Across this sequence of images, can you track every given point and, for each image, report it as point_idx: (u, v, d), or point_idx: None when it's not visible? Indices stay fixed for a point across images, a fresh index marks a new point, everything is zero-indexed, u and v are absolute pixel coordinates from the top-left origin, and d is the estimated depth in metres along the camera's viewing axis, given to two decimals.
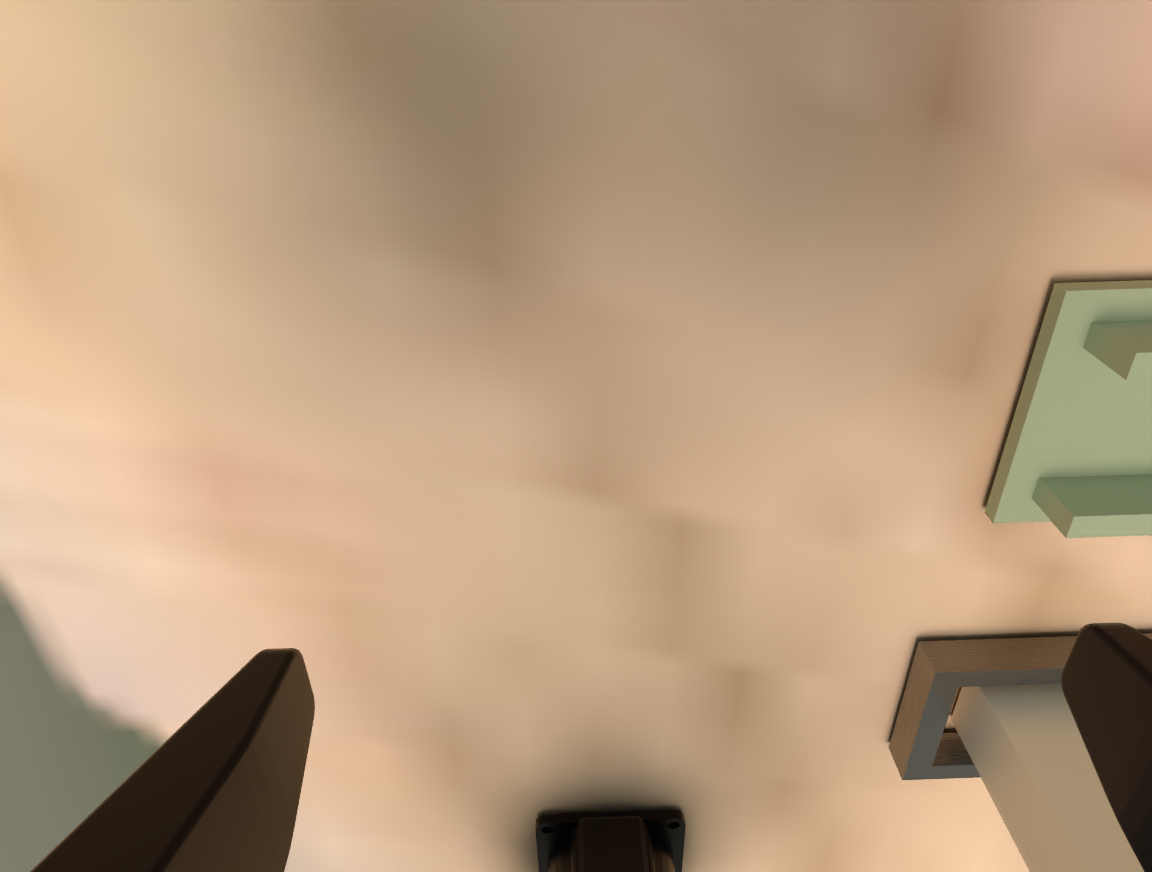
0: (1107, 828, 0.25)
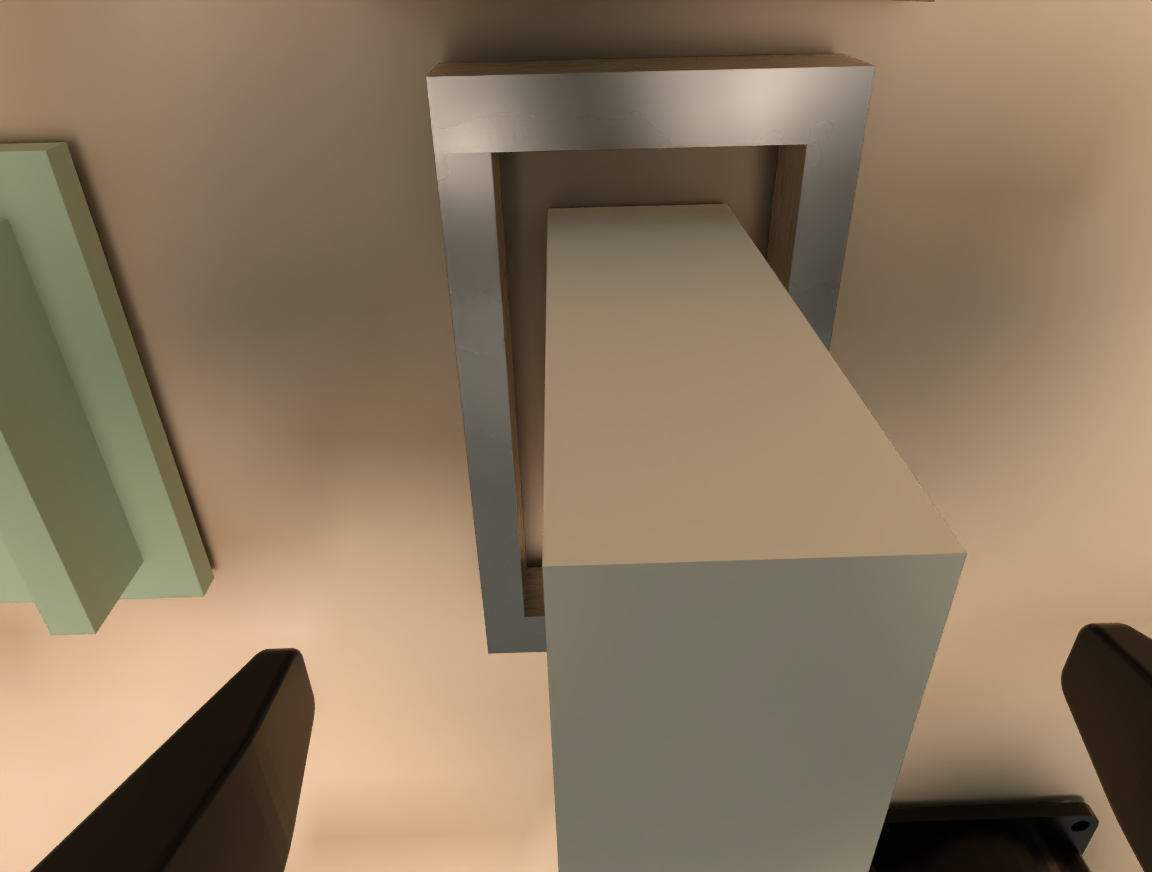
0: None
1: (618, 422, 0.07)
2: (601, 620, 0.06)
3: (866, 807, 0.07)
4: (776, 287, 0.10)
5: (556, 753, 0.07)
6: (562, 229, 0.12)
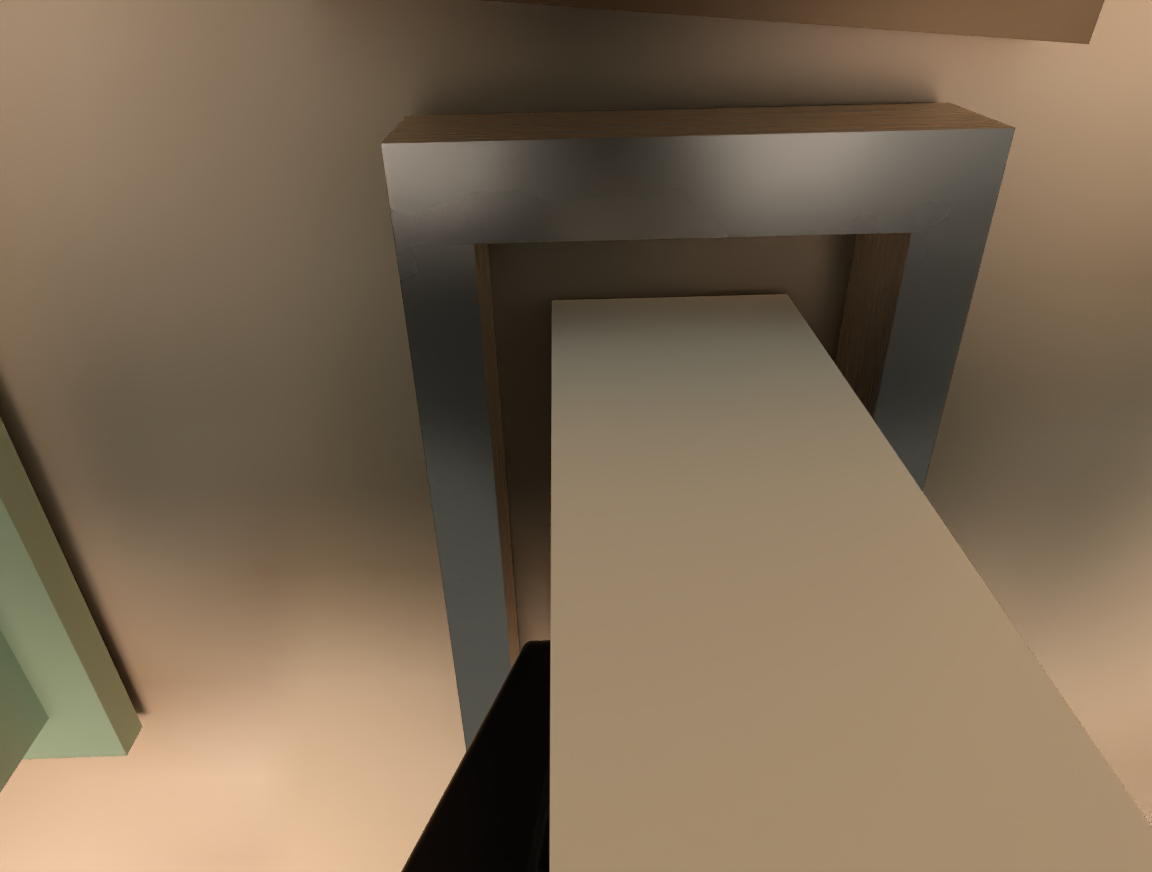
0: None
1: (681, 813, 0.04)
2: None
3: None
4: (887, 458, 0.07)
5: None
6: (572, 336, 0.09)
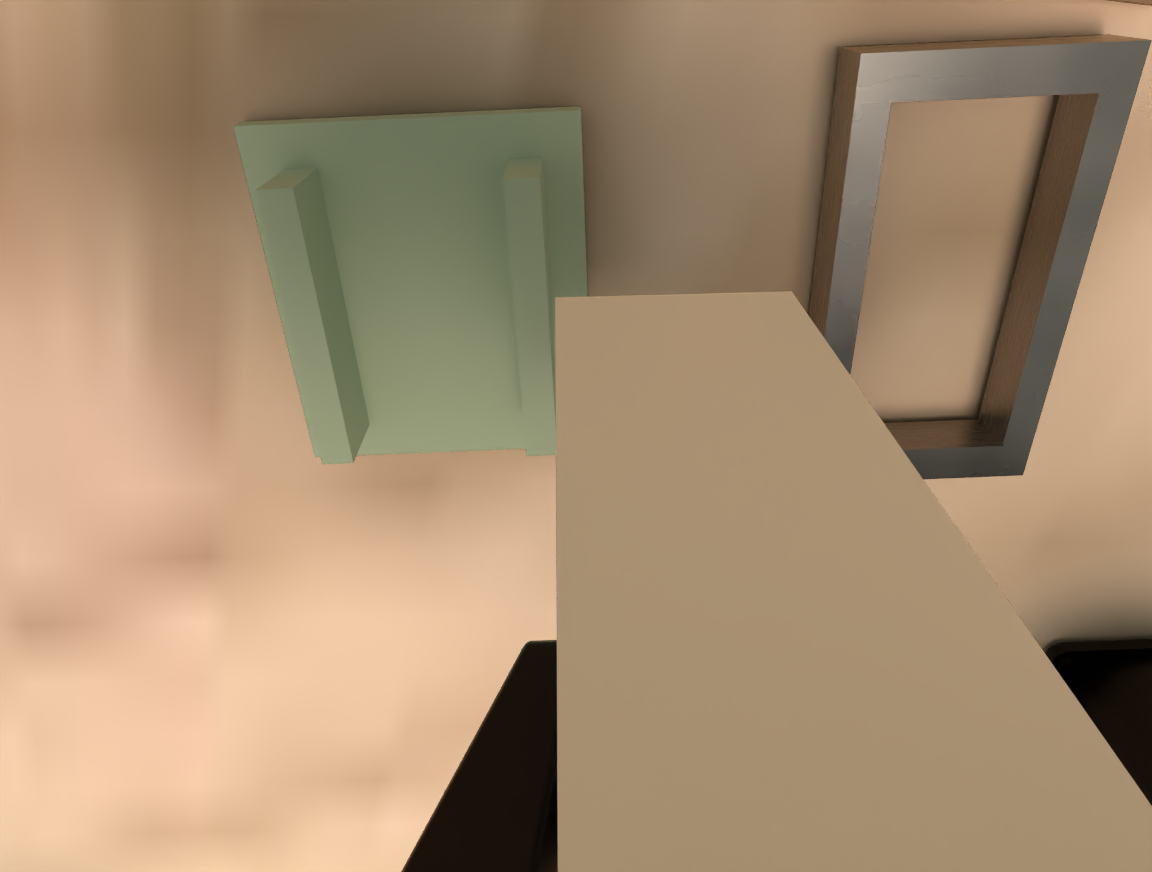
0: None
1: (689, 809, 0.04)
2: None
3: None
4: (894, 455, 0.07)
5: None
6: (576, 333, 0.09)
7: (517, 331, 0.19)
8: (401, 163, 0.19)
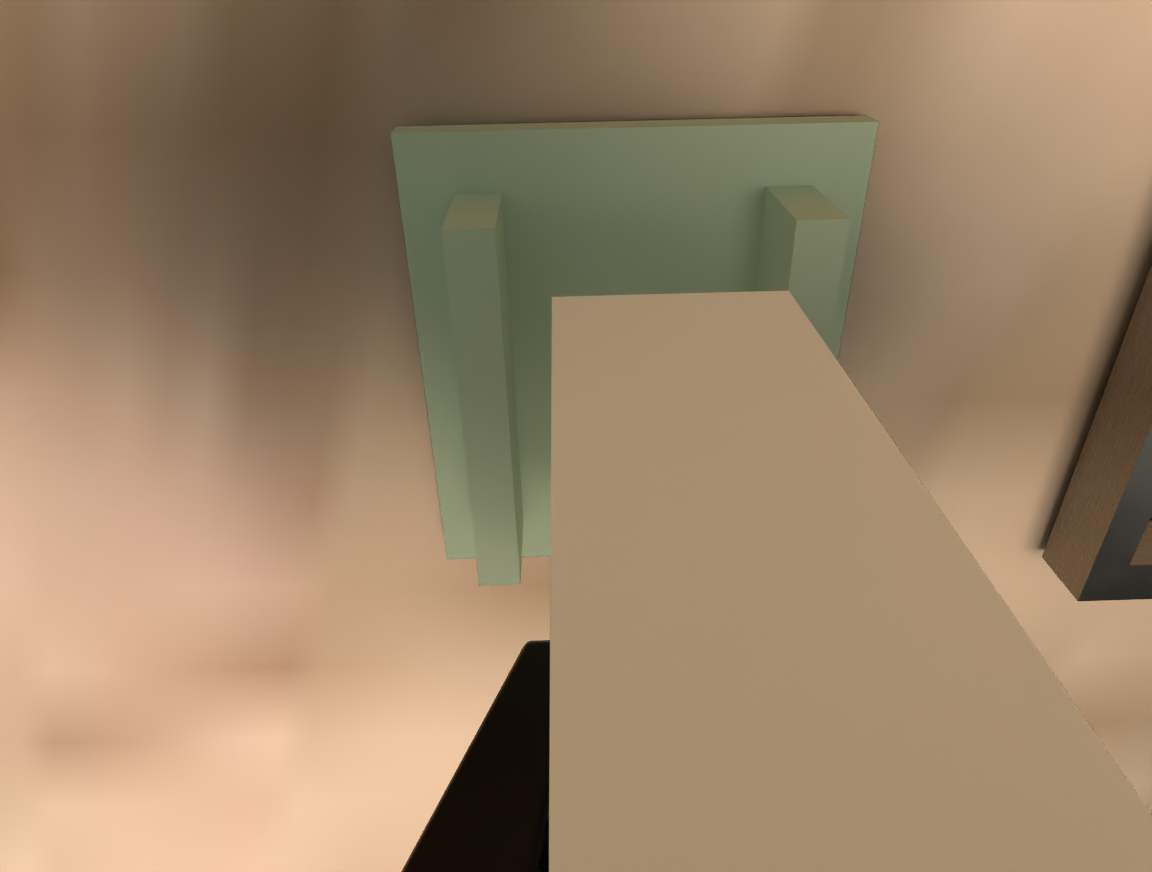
0: None
1: (682, 811, 0.04)
2: None
3: None
4: (890, 454, 0.07)
5: None
6: (572, 333, 0.09)
7: None
8: (618, 190, 0.14)
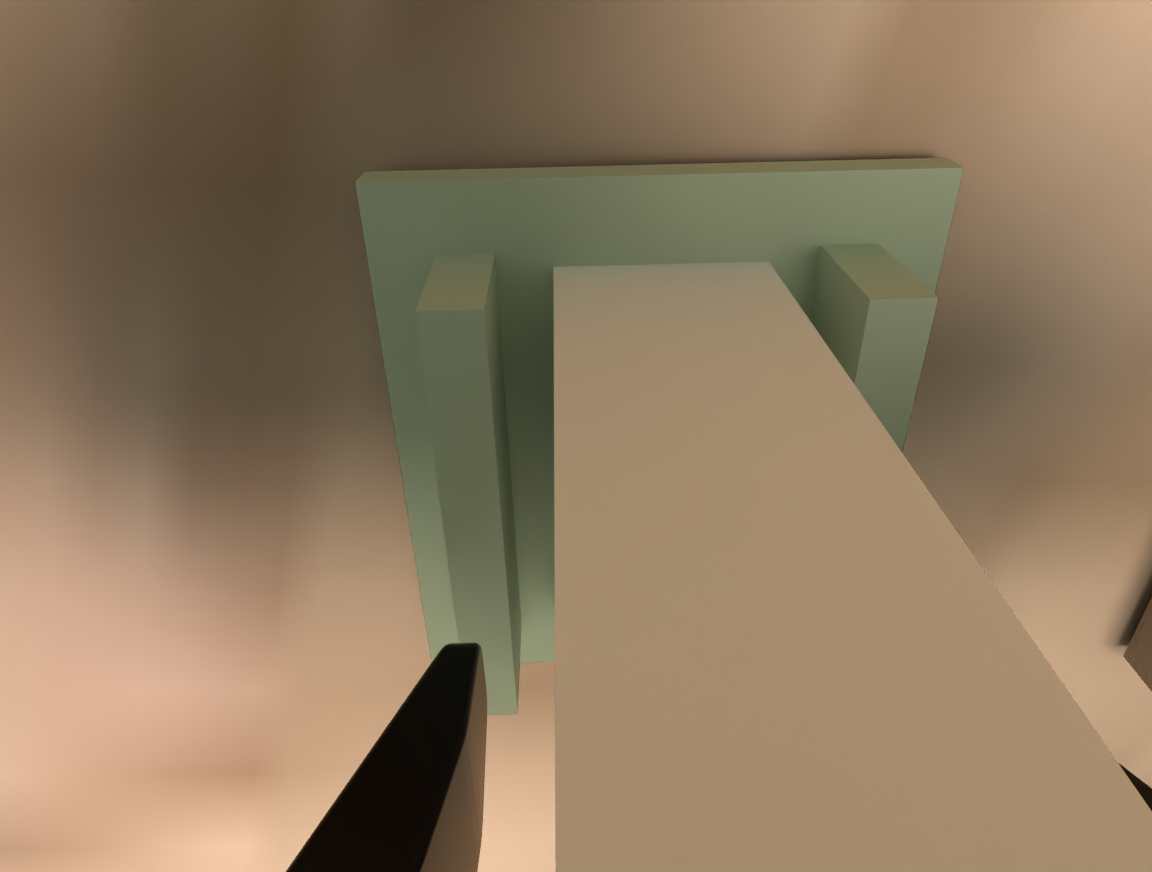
0: None
1: (661, 643, 0.05)
2: None
3: None
4: (849, 392, 0.08)
5: None
6: (572, 297, 0.10)
7: None
8: (638, 250, 0.11)
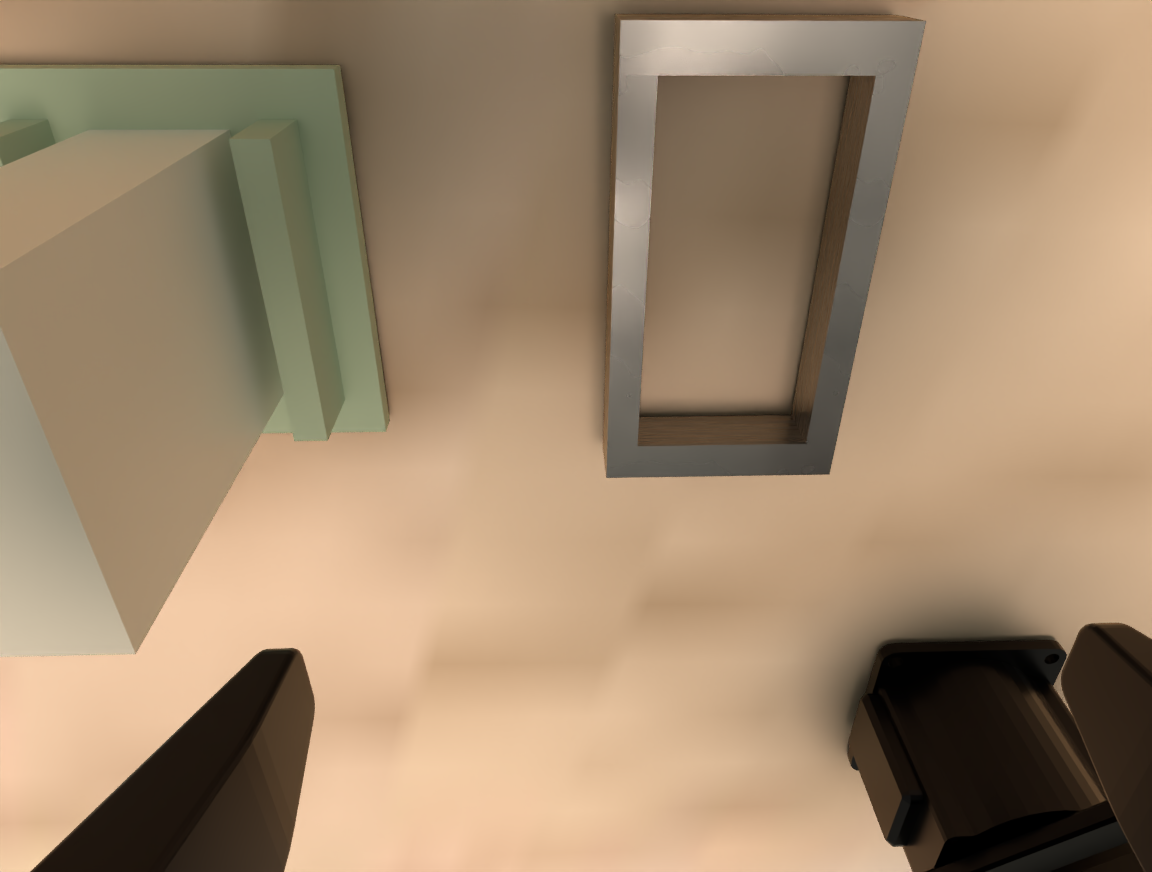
0: None
1: None
2: None
3: (48, 478, 0.11)
4: (150, 173, 0.14)
5: None
6: (73, 140, 0.16)
7: (266, 307, 0.17)
8: (141, 119, 0.17)
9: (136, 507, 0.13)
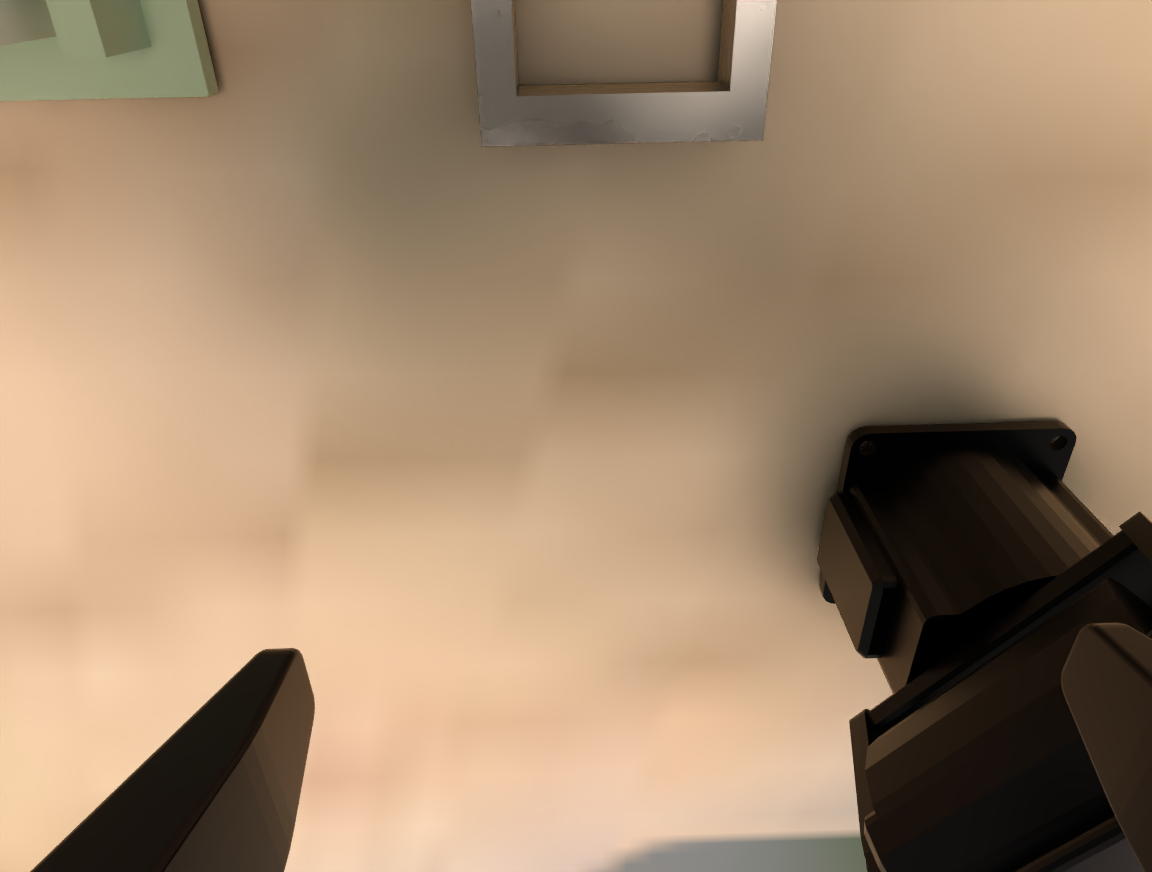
0: None
1: None
2: None
3: None
4: None
5: None
6: None
7: None
8: None
9: None
